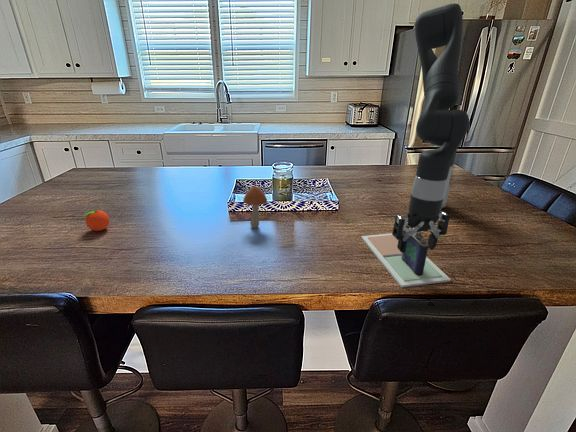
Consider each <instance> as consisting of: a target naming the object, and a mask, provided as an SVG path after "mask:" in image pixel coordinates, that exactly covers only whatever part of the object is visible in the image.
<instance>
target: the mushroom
mask: <svg viewBox="0 0 576 432" xmlns="http://www.w3.org/2000/svg"><path fill="white" fill-rule="evenodd" d="M243 197H244V198H243V200H242V202H243V203H244V204H246V205H248V206H252V210H251V211H252V212H251V219H250V228H252V229H257V228H259V226H260V218H259V208H260V206H261V205H264V204H266V203H267V201H268V199H267V196H266V193H264V191H263V190H262V189H261V188H259V187H258V186H255V185H254V186H252V187H251V188H250V189H248V190H247V192H246V193H245V195H244V196H243Z"/></svg>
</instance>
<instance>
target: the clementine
mask: <svg viewBox="0 0 576 432" xmlns="http://www.w3.org/2000/svg"><path fill="white" fill-rule="evenodd" d="M85 216H86V217H85ZM84 217H85V224H86V226H87V227H88V228H89V230H92V231H96V232H99V231H104V230H105V229H106V228H107V227H108V226H109V225H110V217H109V214H107V213H106V212H105V211H103V210H100V209H99V210H97V209H96V210H92V211H88V212H87V213H85V214H83V216H82V218H81V221H82V220H83V218H84Z"/></svg>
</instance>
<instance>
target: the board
mask: <svg viewBox="0 0 576 432" xmlns="http://www.w3.org/2000/svg"><path fill="white" fill-rule="evenodd" d="M360 238H361V239H362V241H363V242H364V243H365V245H367V247H368V249H370V251H371V252H372V253H373V254H374V256H375V257H376V258H377V259H378V260H379V262H380V263H381V265H382V266H383V267H384V268H385V269H386V271H388V273H389V274H390V276H391V277H392V278H393V279H394V280H395V282H396V283H397V284H398V286H399V287H400V288H408V287H414V286H422V285H431V284H439V283H447V282H451V278H450V277H449V276H448V275H447V274H446V273H444V271H442V270H441V268H439V267H438V266H437V265H436V264H435V263H434V262H433V261H432V260H431V259H430V258H429V257H428V256H426V261H425V266H424V271H423V275H422V276H418V275H416V274H414V272H413V271H412V269H410V267H409V266H407V265H406V263H405V262H404V261H403V260H402V258H401V256H402V253H401V252H400V251H399V249H398V248H397V245H398V240H397V239H396V238H395V237H394V236H393V235H392V232H391V233H382V234H373V235H372V234H371V235H361V237H360Z"/></svg>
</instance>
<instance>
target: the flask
mask: <svg viewBox="0 0 576 432" xmlns="http://www.w3.org/2000/svg"><path fill="white" fill-rule="evenodd" d="M406 233H407V232H406ZM406 233H405V234H406ZM422 234H424V231H420V232H415V233H414V235H412V236H410V237H409V238H408V239H407V240H406V241H407V244H406V250H405V253H402V256H401V258H402V260H403V261H404V262H405V263H406V265H407V266H409V267H410V269H412V271H413V272H414V274H416V275H418V276H422V275H423V271H424V266H425V261H426V257H428V256H427V255H428V251H429V248H428V247H429V245H428V241H426V239H424V236H423V235H422Z"/></svg>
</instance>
